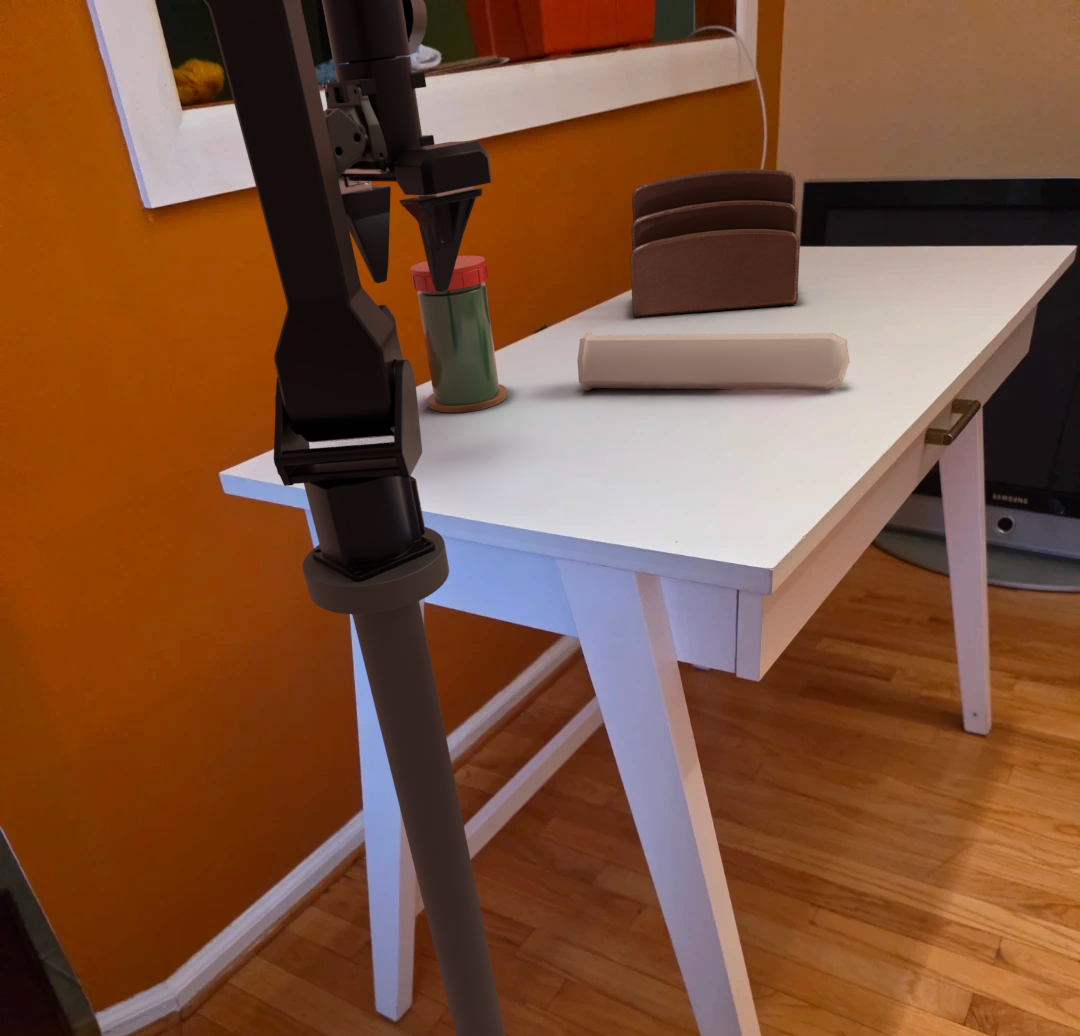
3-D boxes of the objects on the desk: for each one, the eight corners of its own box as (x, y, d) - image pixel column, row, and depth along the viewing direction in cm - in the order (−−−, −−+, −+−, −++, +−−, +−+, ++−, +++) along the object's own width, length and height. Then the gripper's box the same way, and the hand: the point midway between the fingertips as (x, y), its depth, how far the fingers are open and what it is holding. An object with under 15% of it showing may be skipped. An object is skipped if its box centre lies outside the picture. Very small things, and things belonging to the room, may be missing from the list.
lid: (410, 282, 92) (407, 262, 91) (482, 271, 92) (479, 252, 91) (416, 295, 86) (413, 275, 85) (492, 283, 87) (490, 263, 86)
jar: (500, 400, 92) (484, 274, 86) (433, 408, 93) (412, 283, 86) (498, 381, 98) (483, 261, 91) (435, 389, 98) (415, 270, 91)
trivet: (459, 418, 91) (458, 411, 91) (413, 404, 96) (412, 398, 96) (523, 395, 95) (522, 389, 95) (475, 383, 100) (474, 378, 100)
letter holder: (636, 300, 125) (631, 178, 117) (790, 287, 122) (796, 161, 114) (632, 318, 117) (626, 189, 109) (797, 305, 114) (804, 171, 106)
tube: (854, 332, 87) (594, 335, 95) (851, 327, 82) (578, 330, 90) (847, 393, 89) (592, 391, 97) (844, 392, 84) (576, 389, 92)
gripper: (219, 80, 73) (273, 298, 82) (343, 62, 60) (391, 320, 69) (343, 66, 78) (381, 271, 87) (480, 46, 66) (508, 287, 75)
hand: (410, 286), depth 79 cm, fingers open, 9 cm apart
